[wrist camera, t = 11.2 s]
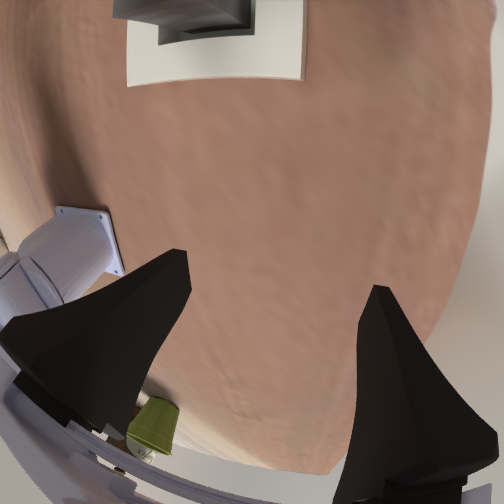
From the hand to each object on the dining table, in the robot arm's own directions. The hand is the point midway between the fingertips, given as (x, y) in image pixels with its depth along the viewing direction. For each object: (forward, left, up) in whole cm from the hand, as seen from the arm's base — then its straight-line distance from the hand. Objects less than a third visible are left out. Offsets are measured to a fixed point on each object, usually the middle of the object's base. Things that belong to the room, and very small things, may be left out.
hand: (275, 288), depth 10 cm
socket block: (-6, +13, -10) cm, 18 cm away
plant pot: (-22, -51, -11) cm, 57 cm away
